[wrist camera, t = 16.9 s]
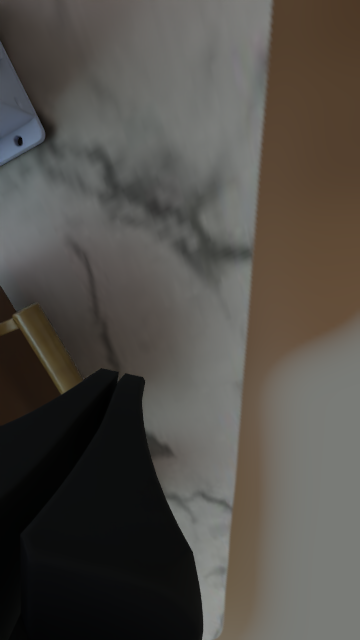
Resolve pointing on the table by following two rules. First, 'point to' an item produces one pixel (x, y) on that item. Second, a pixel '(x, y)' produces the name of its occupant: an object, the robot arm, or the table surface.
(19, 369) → the drawer
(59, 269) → the table surface
